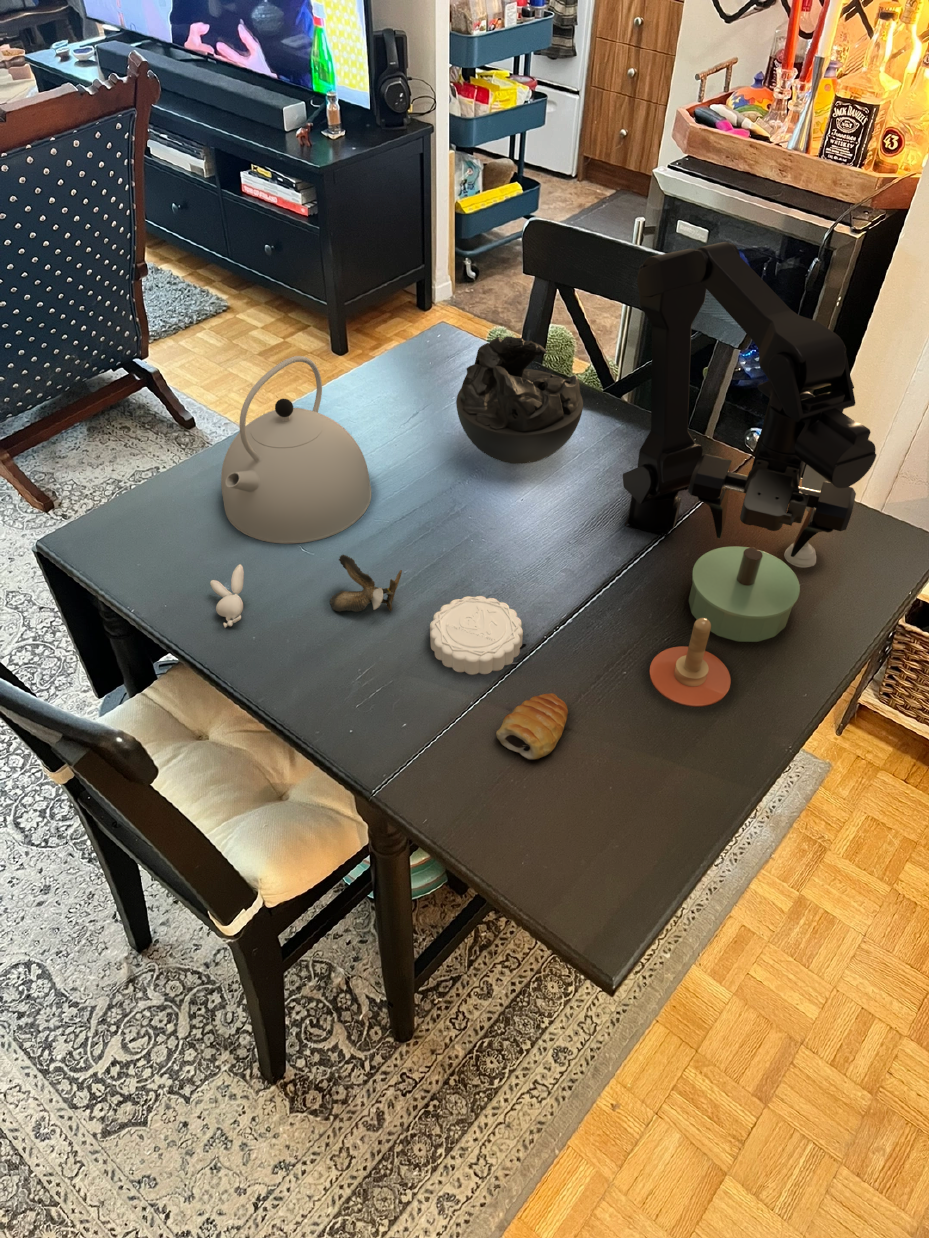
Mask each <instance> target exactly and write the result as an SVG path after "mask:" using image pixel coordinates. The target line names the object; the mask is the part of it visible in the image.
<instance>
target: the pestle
mask: <svg viewBox="0 0 929 1238" xmlns="http://www.w3.org/2000/svg"><path fill="white" fill-rule="evenodd" d="M710 630H711V623H710V621H709V620H707V619H705V618H700V619H698V620H697V619H696V620H695V621H694V623H693V627H692V631H691V635H690V638H689V639H690V640H689V643H688V646H687V647H688V651H687V655H685V656H682V657H680V658H679V659H678V660H677V662H676V665H675V670H674V675H675V677H676V679H677V680H678V681H679V682H680V683H682V684H684V685H687V686H699V685H701V684H703V683H704V682H705V680H706V678H707V674H708V670H709V668H708V665H707V663H706V662H705V661H704V660H703V657H704V653H705V651H706V649H707V645H708V641H709V637H710V633H711V631H710Z"/></svg>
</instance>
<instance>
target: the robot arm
mask: <svg viewBox="0 0 929 1238" xmlns="http://www.w3.org/2000/svg"><path fill="white" fill-rule="evenodd" d="M636 284H637V288H638V297H639V299H638V300H639V306H640V308H641V310H642V312H643V313H644V314H645V316H646V318H647V319H648V321H649V323H650V325H651V390H650V391H651V396H650V398H651V399H650V401H651V402H650V405H651V406H650V407H651V408H650V410H651V411H650V431H649V433H648V435H647V436H646V438H645V440H644V442H643V444H642V445H641V447H640V449H639V452H638V460H637V467H635V468H633V469H631V470H628V471H626V472H623V473H622V483H623V484H622V485H623V488H624V489H625V490H626V492H627V493H629V494H630V495H631V497H630V504H629V509H628V515H627V518H626V520H625V522H624V524H623V525H624V527H625V528H628V529H633V530H636V531H640V532H644V533H648V534H651V535H656V536H660V537H663V538H664V537H667V536H668V534H669V532H670V530H673V529H674V527H675V526H676V523H677V522H678V518H679V513H680V508H681V503H682V497H679V493H680V492H682V491H687V493H689V495H690V496H692V497H697V499H698V501H699V502H701V503H704V504H705V505H707V506H708V507H709V509H710V512H711V514H712V518H713V519H712V520H713V524H714V528H715V529H714V530H715V535H716V538H717V539H721V538H722V535H723V533H724V528H725V524H726V517H727V511H728V502H729V496H730V495H729V494H730V491H733V492H738V493H741V494H745V496H744V498H743V502H742V507H741V510H740V515H739V519H740V522H741V523H742V524H744V525H747V526H754V527H758V528H763V529H766V530H767V531H770V532H777V531H779V530H781V529H782V528H783V525H786V526H790V527H791V526H793V524H794V523H796V524H802V525H801V527H800V530H799V531H798V533H797V536H796V537H795V539H794V542H793V543H794V546H793V549H792V552H791V557H794V556H795V555H796V554H797V553H798V552H799V551H800V550H801V548H802V547H803V546H804V545H805V544H806V543H807V542H808V541H809V542H810V540H811V539H812V538H814V537H815V536H816V535H817V534H818V533H823V532H824V533H829V534H830V533H832V532H833V531H838V532H843V531H847V529H848V526H849V523H850V521H851V517H852V514H853V510H854V504H855V500H856V496H857V492H856V491H855V488H854V487H852V486H853V485H855V484H856V483H858V482H859V481H860V480H861V479H862V478H864V477H865V476H866V474H867V473H868V472H869V471H870V469H871V468H872V467H873V465H874V463H875V461H876V459H877V453H876V445H875V443H874V442H873V441H871V440H870V439H869V438H870V435H871V433H872V432H871V429H870V428H868V427H867V426H865V425H864V424H862V423H860V422H857V421H855V420H854V419H852V418H851V417H850V416H848V415H847V414H845V413H844V410H845V409H848V408H852V407H854V406H856V399H855V392H854V389H855V386H854V383H853V379H852V376H851V371H850V366H849V361H848V355H847V347H846V345H845V343H844V341H843V339H842V338H841V336H839V335H838V334H837V333H836V332H834V331H832V330H831V329H830V328H828V327H827V326H825V325H824V324H822V322H820V321H817V320H814V319H811V318H808V317H805V316H802V315H799V314H797V312H795V311H793V310H792V309H791V308H790V307H789V306H788V305H787V304H786V303H785V302H784V301H783V299H781V297H779V295H777V293H776V292H774V290H773V289H772V288H771V287H770V286H769V285H768V284H767V282H765V281H764V280H763V279H762V278H761V277H760V276H759V275H758V274H757V272H756V271H755V270H754V269H753V268H751V266H750V265H749V264H748V263H747V262H746V261H745V260H744V259H743V258H742V256H741V254H740V250H739V248H738V247H737V245H736V244H734V243H730V242H729V241H728V242H727V241H721V242H718V243H713V244H709V245H704V246H699V247H697V248H696V249H695V248H686V249H682V250H678V251H677V250H676V251H672V252H671V251H670V252H667V253H661V254H658V255H653V256H649V257H647V258H645V260H644V261H643V263H642V264H641V265H640V266H639V268H638V272H637V278H636ZM707 292H709V293H710V295H711V296H712V297H713V299H715V300H716V302H718V304H719V305H720V306H721V307H722V308H723V309H724V310H725V311H726V313H727V314H728V315H729V316H730V317H731V318H732V319H733V321H734V322H736V324H737V325H738V326H739V327H740V328H741V329H742V330H743V332H744V333H745V334H746V335H747V336H748V337H749V338H750V339H751V340H752V341H753V343H754V344H755V346H756V347H757V349H758V362H759V363H758V364H759V367H760V369H761V371H762V372H763V373H764V375H765V377H766V378H767V379H768V380H767V381H764V382H762V383H759V384H758V385H757V390H758V391H759V392H760V393H762V394H763V395H765V396H766V397H767V398H768V399H769V400H768V403H767V408H766V411H765V415H764V418H763V423H762V427H761V430H760V435H759V438H758V442H757V446H756V451H755V454H754V458H753V461H752V466H751V469H750V470H749V472H748V475H746V474H741V473H738V472H737V473H736V472H733V471H731V469H732V466H733V460H732V459H729V458H723V457H720V456H715V455H712V454H711V455H710V454H707V453H704V454H703V452H704V450H703V447H702V445H701V444H698V443H697V442H696V441H695V440H694V438H693V437H692V435H691V433H690V432H689V408H690V407H689V406H690V378H691V376H690V375H691V349H692V326H693V323H694V322H695V319H696V318H697V316H698V314H699V313H700V311H701V309H702V307H703V305H704V304H705V301H706V296H707ZM828 386H830V388H831V389H832V391H828V392H824V393H821V394H817V395H814V394H813V393H811V392H810V391H814V390H817V389H821V388H824V387H828ZM806 465H808V466H810V467H811V468H812V469H813V470H815V471H816V472H817V473H819V474H820V475H821V476H822V477H824V478H825V479H826V480H828V481H829V482H826V481H824V482H823V484H822V487H821V490H820V491H815V490H811V489H806V488H802V486H800V483H801V480H802V477H803V474H804V471H805V467H806ZM806 507H811V508H810V510H809V512H808V511H807V512H808V513H807V514H806V516H805V519H804V515H805V513H806ZM803 519H804V521H803ZM802 521H803V523H802ZM813 536H814V537H813Z"/></svg>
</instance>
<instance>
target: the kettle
mask: <svg viewBox="0 0 929 1238" xmlns="http://www.w3.org/2000/svg"><path fill="white" fill-rule="evenodd" d="M295 363H304V364H307V365H308V366H309V367H310V368H311V370H312V372H313V374H314V378H315V384H316V391H315V392H316V394H315V399H314V404H313V407H312V410H310V409H306V408H301V407H294V404H293V402H292V401H291V400H290V399H288V398H280V399H277V400H276V402H275V404H274V409H273V410H271V411H268V412H266V413H263V414H262V415H260V416H258V417H256V418H254V419H253V420H252V421H250V422H249V423H248V424H246V422H247V415H248V412H249V408H250V405H251V404H252V401H253V399H254V398H255V396H256V394H257V393H258V392H259V391H260V389H261V388H262V387H263V386H264V385H265V384H266V382H268V381H269V380H270V379H271V378H272V377H273V376H275V375H276V374H277V373H279V372H280V371H282V370H284V368H286V367H287V366H289V365H292V364H295ZM322 383H323V382H322V376H321V373H320V370H319V368H318V366H317V365H316V363H315V362H314V361H313V360H312V359H310V358H308V357H307V356H304V355H295V356H291V357H288V358H286V359H284V360H282V361H280V362H279V363H278V364H276V365H275V366H274V367H272V368H271V369H269V370H268V371H267V372H265V374H264V375H262V376H261V377H260V379H258V381H256V383H255V384H254V385H253V387H252V388H251V390H250V391H249V392H248V394H247V395H246V398H245V399H244V402H243V404H242V407H241V410H240V415H239V432H238V433H237V434H236V436H235V437H234V438H233V440H232V442H230V444H229V447H228V448H227V450H226V453H225V456H224V459H223V462H222V467H221V475H220V485H221V495H222V500H223V508H224V513H225V515H226V518H227V519H228V521H229V522H230V523H231V525H232V526H233V527H234V528H235V529H236V530H238V531H239V532H240V533H242V534H244V535H245V536H248V537H250V538H253V539H254V540H255V539H256V540H259V541H262V542H267V543H273V544H285V545H288V544H292V545H293V544H304V543H311V542H316V541H320V540H324V539H327V538H329V537H333V536H335V535H337V534H339V533H341V532H343V531H345V530H347V529H348V528H349V527H351V526H352V525H355V523H356V522H358V521H359V520H360V519H361V518H362V517H363V516H364V514H365V513H366V511H367V510H368V508H369V507H370V504H371V501H372V486H371V480H370V473H369V467H368V465H367V461H366V459H365V456H364V454H363V451H362V450H361V447H360V445H359V444H358V442H357V440H355V439H354V437H353V435H351V434H350V433H349V431H348V430H346V428H345V427H343V426H342V425H341V424H340V423H338V422H337V421H336V420H334V419H332V418H331V417H329V416H327V415H325V414H322V413H320V412H319V411H320V410H319V409H320V405H321V401H322V396H323V384H322Z"/></svg>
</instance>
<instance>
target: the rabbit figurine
mask: <svg viewBox="0 0 929 1238" xmlns="http://www.w3.org/2000/svg"><path fill="white" fill-rule="evenodd" d="M244 571H245V570H244V567H243V564H241V563H240V564H237V566H236V567H235V568H234V569H233V572H232V574H231V579H230V580H231V581H230V588H231V591H230V590H228V589H227V587H225V586H224V584H222V582H220V581H218V580H216V579H211V580H210V587H211V589H212V590H213V592H214V593H215V594H216V595H218V596H219V597H221V599H220V600H219V601H218V602H217V604H216V607H215V611H216V613H217V614H218V615H219V616H220V617H222V618H223V617H224V618H225V621H226V622H223V624H222V625H223V627H224V629H226V628H227V627H232V626H233V625H234V624H235V623H238V622H239V621H241V619H242V615H241V614H242V613H243V611H244V603H243V599H242V598H241V596H239V594H240V593H242V591H243V588H244V579H245V578H244V577H245V572H244Z"/></svg>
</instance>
